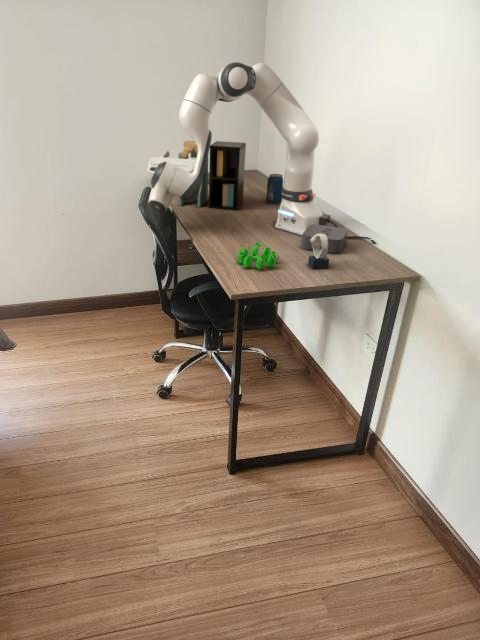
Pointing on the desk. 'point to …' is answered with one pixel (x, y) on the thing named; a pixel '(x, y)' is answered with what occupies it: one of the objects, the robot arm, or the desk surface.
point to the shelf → (226, 175)
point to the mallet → (189, 148)
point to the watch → (319, 252)
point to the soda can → (274, 188)
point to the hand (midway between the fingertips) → (178, 153)
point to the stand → (204, 190)
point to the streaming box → (333, 234)
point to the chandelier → (257, 257)
